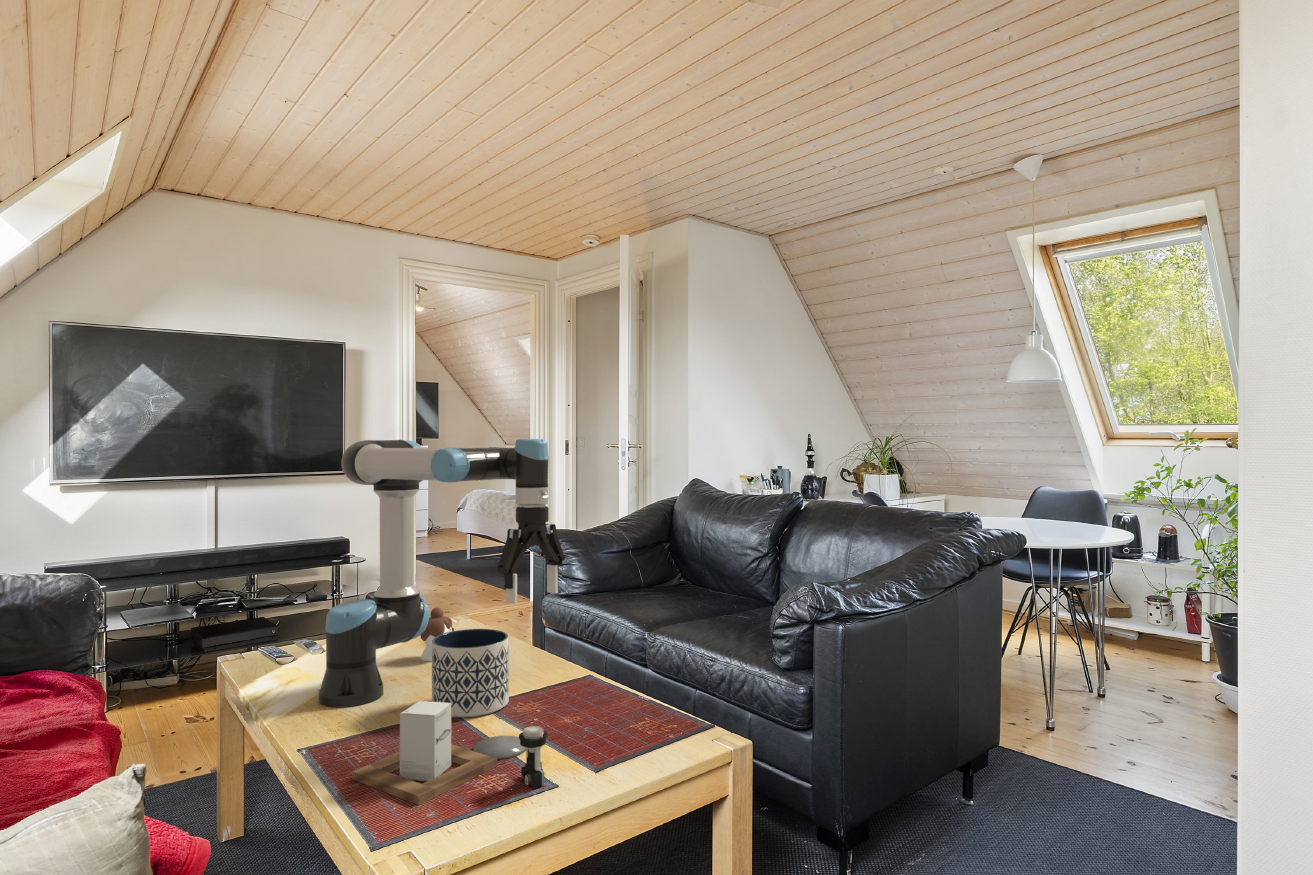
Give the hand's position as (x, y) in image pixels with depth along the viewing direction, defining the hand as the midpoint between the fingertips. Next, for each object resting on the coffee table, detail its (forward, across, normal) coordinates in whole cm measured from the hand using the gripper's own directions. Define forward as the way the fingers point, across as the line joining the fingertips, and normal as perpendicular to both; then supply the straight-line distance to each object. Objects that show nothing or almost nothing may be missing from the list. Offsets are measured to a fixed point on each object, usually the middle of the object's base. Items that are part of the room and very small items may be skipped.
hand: (532, 597), depth 174 cm
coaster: (+28, -16, -6) cm, 33 cm away
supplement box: (+28, -32, -2) cm, 43 cm away
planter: (+28, -1, +19) cm, 34 cm away
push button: (+28, -24, -22) cm, 43 cm away
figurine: (+28, +22, +58) cm, 68 cm away
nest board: (+28, -32, -2) cm, 43 cm away
